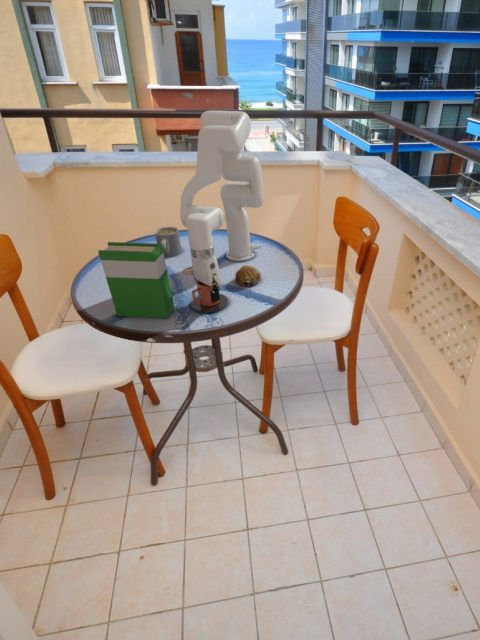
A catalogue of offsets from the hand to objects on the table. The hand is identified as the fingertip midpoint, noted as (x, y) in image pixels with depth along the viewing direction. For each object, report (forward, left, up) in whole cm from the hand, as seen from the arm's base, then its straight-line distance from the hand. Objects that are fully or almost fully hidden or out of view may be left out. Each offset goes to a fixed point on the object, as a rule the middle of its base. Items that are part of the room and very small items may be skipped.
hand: (209, 297), depth 148 cm
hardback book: (+21, -6, -3) cm, 22 cm away
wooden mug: (+1, 0, -2) cm, 2 cm away
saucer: (0, 0, -3) cm, 3 cm away
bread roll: (-19, -9, -3) cm, 21 cm away
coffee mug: (+1, -51, -3) cm, 51 cm away
